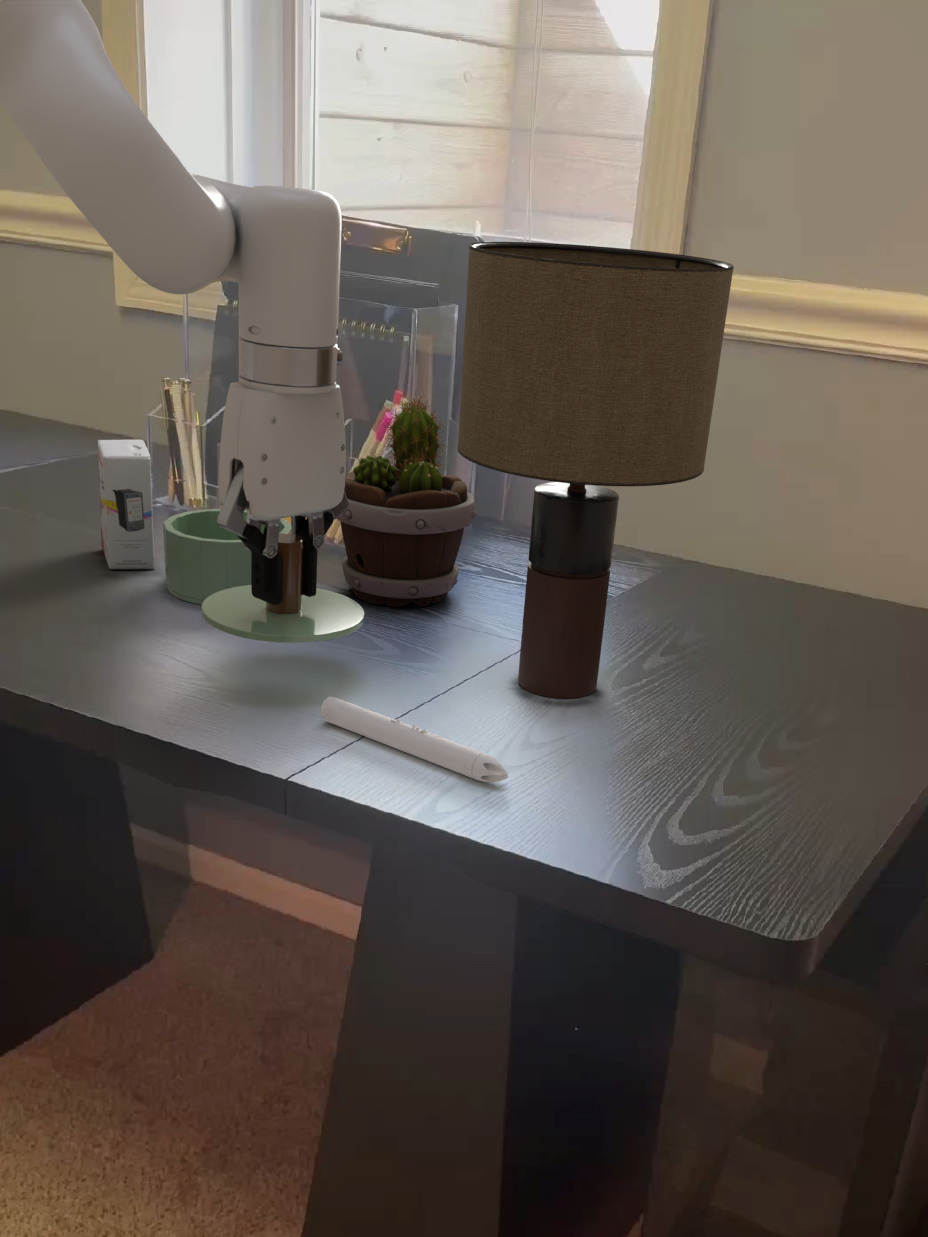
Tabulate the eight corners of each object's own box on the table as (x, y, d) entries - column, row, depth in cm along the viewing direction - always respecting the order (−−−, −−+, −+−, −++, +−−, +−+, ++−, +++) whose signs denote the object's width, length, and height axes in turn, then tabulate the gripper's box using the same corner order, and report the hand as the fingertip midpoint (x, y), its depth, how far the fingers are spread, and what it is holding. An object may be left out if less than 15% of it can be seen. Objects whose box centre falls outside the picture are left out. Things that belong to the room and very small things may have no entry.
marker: (515, 785, 97) (518, 756, 96) (499, 794, 95) (501, 765, 94) (337, 716, 106) (337, 690, 105) (319, 724, 104) (319, 696, 103)
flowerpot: (441, 625, 127) (453, 414, 118) (301, 599, 132) (302, 393, 122) (491, 587, 140) (506, 393, 130) (361, 564, 144) (366, 374, 134)
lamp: (715, 693, 116) (785, 267, 100) (567, 749, 103) (619, 269, 86) (549, 631, 128) (586, 242, 112) (397, 673, 115) (414, 240, 99)
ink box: (101, 548, 143) (93, 437, 137) (148, 547, 144) (142, 438, 139) (108, 571, 135) (100, 456, 130) (157, 570, 137) (152, 456, 131)
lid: (215, 652, 102) (214, 562, 99) (191, 598, 113) (189, 515, 110) (381, 647, 107) (386, 561, 103) (342, 595, 118) (345, 516, 114)
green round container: (175, 609, 126) (172, 543, 123) (160, 571, 137) (156, 509, 134) (303, 604, 130) (303, 540, 127) (278, 567, 141) (278, 507, 138)
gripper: (332, 353, 108) (325, 569, 117) (171, 362, 97) (176, 601, 105) (396, 368, 104) (384, 591, 113) (236, 380, 93) (236, 627, 101)
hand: (283, 594), depth 109 cm, fingers closed on lid, 3 cm apart
